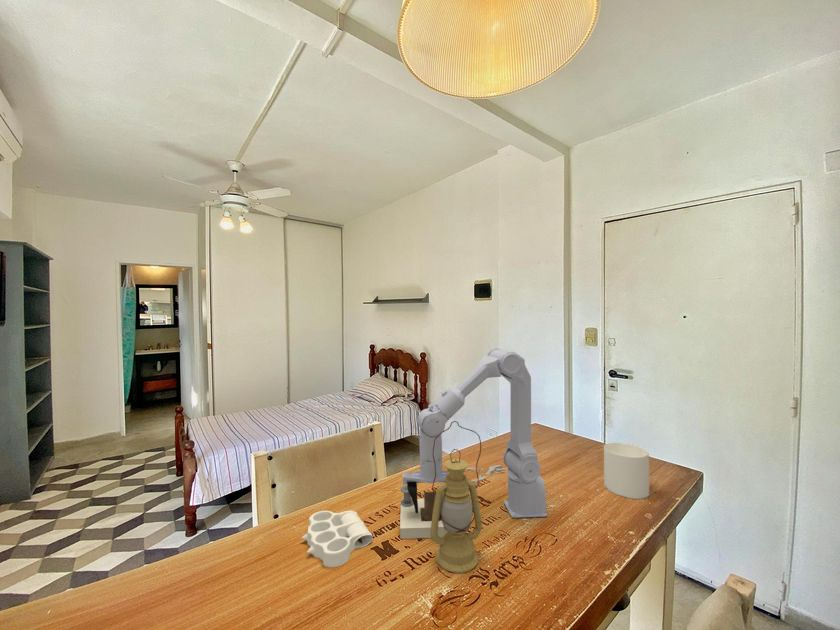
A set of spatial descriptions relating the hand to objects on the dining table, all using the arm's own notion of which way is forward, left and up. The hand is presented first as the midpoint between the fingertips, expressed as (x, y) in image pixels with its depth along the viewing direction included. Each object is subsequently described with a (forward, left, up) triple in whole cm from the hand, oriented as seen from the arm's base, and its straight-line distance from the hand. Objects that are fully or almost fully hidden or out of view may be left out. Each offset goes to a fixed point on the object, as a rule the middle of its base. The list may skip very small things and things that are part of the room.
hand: (431, 510), depth 88 cm
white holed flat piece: (+24, +5, -4) cm, 24 cm away
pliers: (-19, -27, -4) cm, 34 cm away
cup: (-60, -14, -4) cm, 62 cm away
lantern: (-5, +12, -4) cm, 14 cm away
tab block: (0, 0, -3) cm, 4 cm away
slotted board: (+2, -1, -3) cm, 4 cm away
